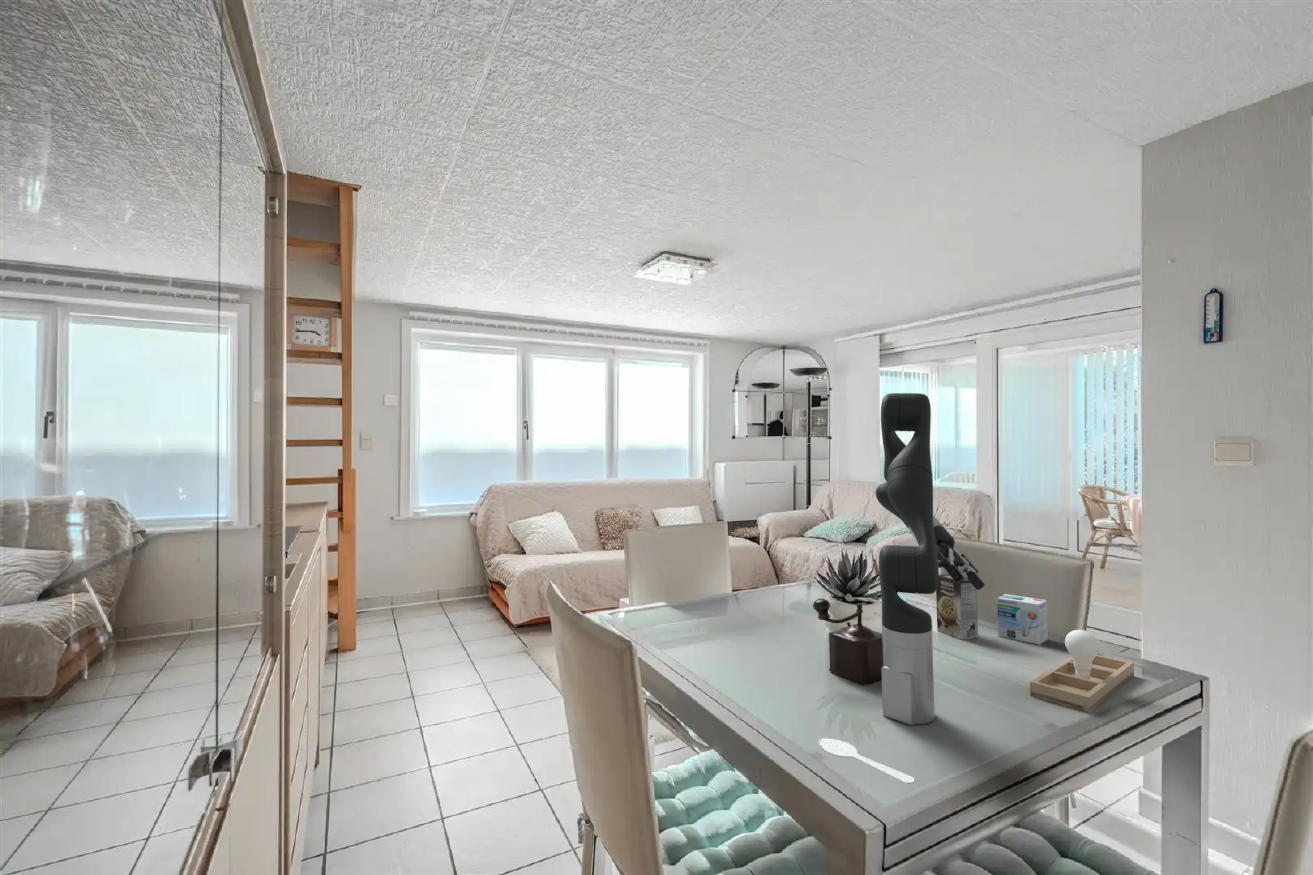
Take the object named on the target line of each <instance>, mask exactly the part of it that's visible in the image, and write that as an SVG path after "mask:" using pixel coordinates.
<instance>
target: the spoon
mask: <svg viewBox="0 0 1313 875" xmlns="http://www.w3.org/2000/svg"><path fill="white" fill-rule="evenodd" d="M820 740H822V741H820ZM818 741H820V742H818ZM818 741H817V743H818V746H819V745H821V746H822V748H823V749H824V750H823V749H822V748H821V749H822V750H823V751H825V752H826V751H827V752H826V753H828V754H830V753H831V755H833V756H836V757H843V758H854V759H856V760H859V761H860V762H863V763H864V764H866V765H868V766H870V767H872V768H875V769H876V770H878V771H880V772H882V773H884V774H886V775H888V776H891V778H894V779H896V780H899V781H900V782H902V783H905V784H913V783H914V782H915V778H914V777H913V776H912V775H910V774H907V773H903V772H901V771H899V770H898V769H894V768H893V767H890V766H888V765H885V764H882V763H880V762H877V761H875V760H873V759H871V758H867V757H865V756H864V755H861V754H859V753H858V749H857V748H856V747H855V746H854V745H852V744H851V743H850V742H847V741H843V740H840V739H836V738H831V737H830V738H828V737H824V738H822V737H821V738H820V739H818ZM819 743H820V744H819Z"/></svg>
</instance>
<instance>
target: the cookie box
mask: <svg viewBox="0 0 1313 875" xmlns="http://www.w3.org/2000/svg"><path fill="white" fill-rule="evenodd" d="M935 592H936V593H935V595H936V596H935V598H936V625H937V626H936V629H937V632H940V633H942V634H944V635H948V636H950V637H953V638H955V639H958V640H961V641H962V640H970V639H977V638H979V623H978V622H979V620H978V619H979V618H978V616H979V615H978V609H979V608H978V590H977V589H976V588H975V587H974V586H973V585H972V583H971V582H970V581H969V580H968V579H967V578H966V577H965V576H964V580H963V581H962V582H961V583H959V584H958V583H956V582H955V581H954V580H953V579H952V577H951V576H950V575H949V574H948V573H942V574H940V573H939V581H938V587H937V590H936V591H935Z"/></svg>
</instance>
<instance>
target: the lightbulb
mask: <svg viewBox="0 0 1313 875" xmlns="http://www.w3.org/2000/svg"><path fill="white" fill-rule="evenodd" d="M1064 644H1065V647H1066V649H1067V651H1068V653H1069V654H1070V656H1072V659H1073V662H1074V667H1075V671H1076V677H1080V678H1084V679H1090V670H1091V668H1092V662H1093V659H1094V658H1095V656H1096V655H1098V653H1099V651H1100V643H1099V641H1098V639H1097V638H1096V636H1094V634H1092V633H1091V632H1090V631H1089V632H1088V631H1087V630H1083V629H1074V630H1072V631H1070V632H1068V633H1067V634H1066V636H1065V639H1064Z"/></svg>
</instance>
